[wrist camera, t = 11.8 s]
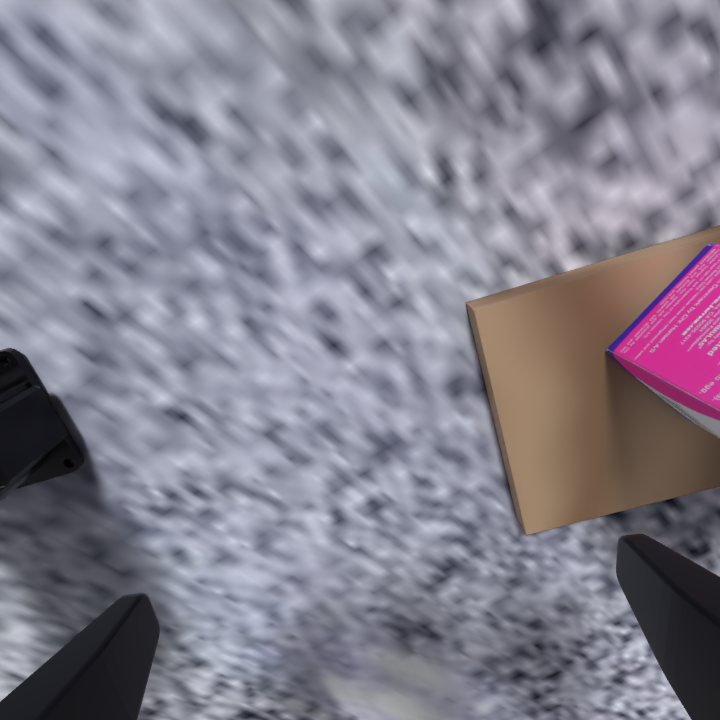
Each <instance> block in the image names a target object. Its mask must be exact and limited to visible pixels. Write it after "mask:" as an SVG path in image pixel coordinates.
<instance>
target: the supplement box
mask: <svg viewBox="0 0 720 720" xmlns="http://www.w3.org/2000/svg"><path fill="white" fill-rule="evenodd" d="M606 352H607V353H608V354H609V355H610V357H611V358H612V359H614V360H615V361H616V362H617V363H618V364H619V365H620V366H622V367H623V368H624V369H625V370H626V371H627V372H629V373H630V374H631V375H632V376H633V377H635V378H636V379H637V380H638V381H639V382H641V383H642V384H643V385H644V386H646V387H647V388H648V389H649V390H651V391H652V392H653V393H654V394H656V395H657V396H658V397H659V398H661V399H662V400H663V401H664V402H666V403H667V404H668V405H669V406H671V407H672V408H673V409H674V410H676V411H677V412H678V413H680V414H681V415H682V416H684V417H685V418H686V419H688V420H689V421H691V422H693V423H695V424H697V425H699V426H700V427H702V428H704V429H705V430H707V431H709V432H710V433H712V434H714V435H715V436H717V437H718V438H720V245H719V244H708V245H707V246H706V247H705V248H704V249H703V250H702V251H701V252H700V253H699V254H698V255H697V256H696V257H695V258H694V259H693V260H692V261H691V262H690V263H689V264H688V265H687V266H686V268H685V269H684V270H683V271H682V272H681V273H680V274H679V275H678V276H677V277H676V278H675V279H674V280H673V281H672V282H671V283H670V284H669V285H668V286H667V287H666V288H665V289H664V290H663V292H662V293H661V294H660V295H659V296H658V297H657V298H656V299H655V300H654V301H653V302H652V303H651V304H650V305H649V306H648V307H647V308H646V309H645V310H644V311H643V312H642V313H641V314H640V316H639V317H638V318H637V319H636V320H635V321H634V322H633V323H632V324H631V325H630V326H629V327H628V328H627V329H626V330H625V331H624V332H623V333H622V334H621V335H620V336H619V337H618V338H617V339H615V340H614V341H613V342H612V344H611V345H610V346H608V347H607V349H606Z"/></svg>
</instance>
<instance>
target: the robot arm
mask: <svg viewBox="0 0 720 720" xmlns="http://www.w3.org/2000/svg"><path fill="white" fill-rule="evenodd" d="M6 357H9V358H10V359H11V362H12V363H9V362H8V361H7V358H6ZM69 459H71V460H72V461H73V462H74V463H72V462H70V461H69ZM83 463H84V459H83V456H82V454H81V453H80V451H79V449H78V448H77V446H76V444H75V443H74V441H73V439H72V438H71V436H70V434H69V433H68V431H67V429H66V428H65V426H64V424H63V423H62V421H61V419H60V418H59V416H58V414H57V413H56V411H55V409H54V408H53V406H52V404H51V403H50V401H49V399H48V398H47V396H46V395H45V393H44V391H43V390H42V388H41V386H40V385H39V383H38V381H37V380H36V378H35V376H34V375H33V373H32V371H31V370H30V368H29V366H28V365H27V363H26V361H25V360H24V358H23V356H22V355H21V354H20V353H19V352H18V351H17V350H15V349H12V348H6V349H3V350H0V502H1V501H2V500H3V499H4V498H5V497H6V496H8V495H9V494H10V493H11V492H12V491H13V490H15V489H17V488H20V487H23V486H27V485H30V484H34V483H37V482H40V481H44V480H47V479H51V478H54V477H58V476H61V475H64V474H68V473H71V472H74V471H76V470H78V469H79V468H80V467H81V466H82V464H83ZM616 573H617V578H618V581H619V584H620V586H621V588H622V590H623V592H624V594H625V596H626V598H627V600H628V602H629V604H630V606H631V608H632V610H633V612H634V615H635V617H636V619H637V621H638V623H639V625H640V627H641V629H642V631H643V633H644V635H645V637H646V639H647V641H648V643H649V645H650V647H651V649H652V651H653V653H654V655H655V657H656V659H657V661H658V663H659V665H660V667H661V669H662V671H663V673H664V674H665V676H666V678H667V680H668V681H669V683H670V685H671V687H672V688H673V690H674V691H675V693H676V695H677V696H678V698H679V700H680V701H681V703H682V705H683V706H684V708H685V710H686V711H687V713H688V714H689V716H690V718H691V719H692V720H720V577H719V576H717V575H716V574H714V573H712V572H710V571H708V570H707V569H705V568H703V567H701V566H700V565H698V564H696V563H694V562H693V561H691V560H689V559H687V558H686V557H684V556H682V555H680V554H678V553H677V552H675V551H673V550H671V549H670V548H668V547H666V546H664V545H663V544H661V543H659V542H657V541H656V540H654V539H652V538H650V537H648V536H646V535H644V534H633V535H625V536H621V537H620V538H619V540H618V546H617V563H616ZM159 632H160V627H159V622H158V619H157V617H156V614H155V612H154V609H153V607H152V604H151V602H150V599H149V597H148V596H147V595H146V594H145V593H137V594H128V595H124V596H122V597H121V598H120V599H118V600H117V601H116V602H115V603H114V604H113V605H111V606H110V607H109V608H108V609H107V610H106V611H104V612H103V613H102V614H101V615H100V616H99V617H98V618H96V619H95V620H94V621H93V622H92V623H91V624H90V625H88V626H87V627H86V628H85V629H84V630H83V631H81V632H80V633H79V634H78V635H77V636H76V637H75V638H73V639H72V640H71V641H70V642H69V643H68V644H66V645H65V646H64V647H63V648H62V649H61V650H60V651H58V652H57V653H56V654H55V655H54V656H53V657H51V658H50V659H49V660H48V661H47V662H46V663H45V664H43V665H42V666H41V667H40V668H39V669H38V670H36V671H35V672H34V673H33V674H32V675H31V676H30V677H28V678H27V679H26V680H25V681H24V682H23V683H21V684H20V685H19V686H18V687H17V688H16V689H15V690H13V691H12V692H11V693H10V694H9V695H8V696H6V697H5V698H4V699H3V700H2V701H1V702H0V720H137V719H138V715H139V712H140V708H141V704H142V700H143V696H144V693H145V689H146V685H147V681H148V677H149V673H150V670H151V666H152V662H153V658H154V654H155V650H156V646H157V643H158V639H159Z"/></svg>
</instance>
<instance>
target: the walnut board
mask: <svg viewBox="0 0 720 720" xmlns="http://www.w3.org/2000/svg"><path fill="white" fill-rule="evenodd" d="M708 244H719V245H720V226H716V227H713V228H710V229H707V230H703V231H700V232H697V233H693V234H690V235H687V236H684V237H680V238H677V239H674V240H670V241H667V242H664V243H660V244H657V245H654V246H651V247H647V248H644V249H641V250H637V251H634V252H631V253H628V254H624V255H621V256H618V257H614V258H611V259H608V260H605V261H601V262H598V263H595V264H591V265H588V266H585V267H582V268H578V269H575V270H572V271H568V272H565V273H562V274H558V275H555V276H552V277H549V278H545V279H542V280H539V281H535V282H532V283H529V284H526V285H522V286H519V287H516V288H512V289H509V290H506V291H503V292H499V293H496V294H493V295H489V296H486V297H483V298H480V299H476V300H473V301H470V302H466V306H467V310H468V314H469V318H470V323H471V327H472V331H473V335H474V339H475V344H476V348H477V352H478V356H479V361H480V365H481V369H482V373H483V377H484V382H485V386H486V390H487V394H488V398H489V403H490V407H491V411H492V415H493V419H494V424H495V428H496V432H497V436H498V441H499V445H500V449H501V453H502V457H503V462H504V466H505V470H506V474H507V478H508V483H509V487H510V491H511V495H512V499H513V504H514V508H515V512H516V516H517V518H518V520H519V522H520V524H521V526H522V528H523V530H524V532H525V533H526V535H529V534H533V533H537V532H541V531H545V530H549V529H553V528H557V527H561V526H565V525H569V524H572V523H576V522H580V521H584V520H588V519H592V518H596V517H600V516H604V515H608V514H612V513H616V512H620V511H624V510H628V509H632V508H636V507H640V506H644V505H648V504H652V503H656V502H660V501H664V500H667V499H671V498H675V497H679V496H683V495H687V494H691V493H695V492H699V491H703V490H707V489H711V488H715V487H719V486H720V438H718V437H717V436H715V435H714V434H712V433H710V432H709V431H707V430H705V429H704V428H702V427H700V426H699V425H697V424H695V423H693V422H691V421H689V420H688V419H686V418H685V417H684V416H682V415H681V414H680V413H678V412H677V411H676V410H674V409H673V408H672V407H671V406H669V405H668V404H667V403H666V402H664V401H663V400H662V399H661V398H659V397H658V396H657V395H656V394H654V393H653V392H652V391H651V390H649V389H648V388H647V387H646V386H644V385H643V384H642V383H641V382H639V381H638V380H637V379H636V378H635V377H633V376H632V375H631V374H630V373H629V372H627V371H626V370H625V369H624V368H623V367H622V366H620V365H619V364H618V363H617V362H616V361H615V360H614V359H612V358H611V357H610V355H609V354H608V353H607V352H606V349H607V347H608V346H610V345H611V344H612V342H613V341H614V340H615V339H617V338H618V337H619V336H620V335H621V334H622V333H623V332H624V331H625V330H626V329H627V328H628V327H629V326H630V325H631V324H632V323H633V322H634V321H635V320H636V319H637V318H638V317H639V316H640V314H641V313H642V312H643V311H644V310H645V309H646V308H647V307H648V306H649V305H650V304H651V303H652V302H653V301H654V300H655V299H656V298H657V297H658V296H659V295H660V294H661V293H662V292H663V290H664V289H665V288H666V287H667V286H668V285H669V284H670V283H671V282H672V281H673V280H674V279H675V278H676V277H677V276H678V275H679V274H680V273H681V272H682V271H683V270H684V269H685V268H686V266H687V265H688V264H689V263H690V262H691V261H692V260H693V259H694V258H695V257H696V256H697V255H698V254H699V253H700V252H701V251H702V250H703V249H704V248H705V247H706V246H707V245H708Z"/></svg>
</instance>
